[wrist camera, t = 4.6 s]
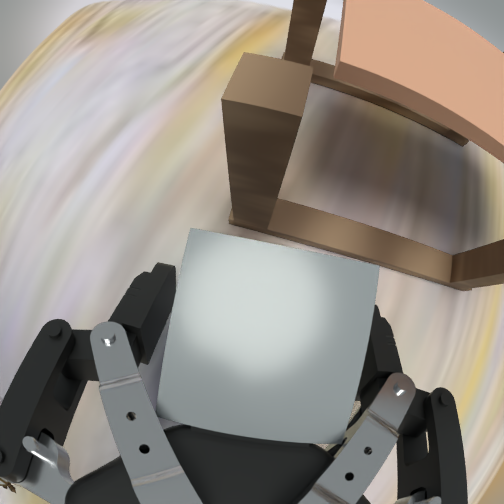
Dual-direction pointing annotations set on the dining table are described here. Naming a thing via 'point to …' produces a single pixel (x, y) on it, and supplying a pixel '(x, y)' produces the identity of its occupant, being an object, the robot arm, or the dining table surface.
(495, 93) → the trapdoor
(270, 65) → the frame
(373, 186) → the dining table surface
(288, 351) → the slate block
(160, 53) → the dining table surface
